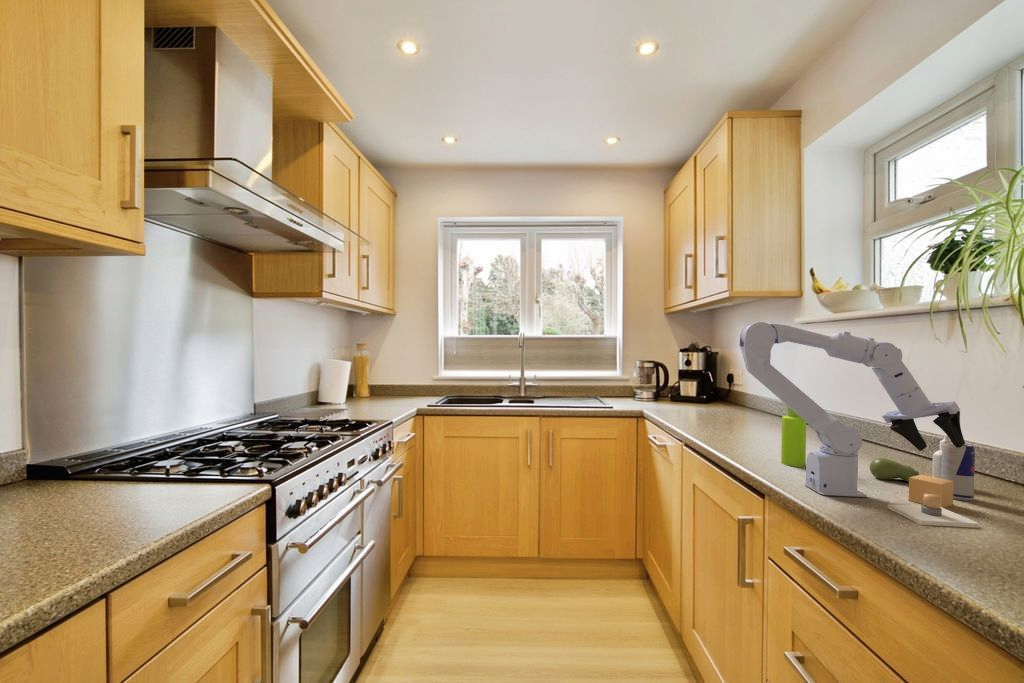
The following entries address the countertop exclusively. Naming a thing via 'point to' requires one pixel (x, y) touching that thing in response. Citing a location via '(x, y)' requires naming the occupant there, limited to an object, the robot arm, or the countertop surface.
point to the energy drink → (959, 469)
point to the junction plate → (933, 513)
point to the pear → (891, 470)
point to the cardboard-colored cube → (931, 489)
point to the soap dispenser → (793, 440)
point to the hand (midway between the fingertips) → (941, 447)
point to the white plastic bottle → (938, 460)
